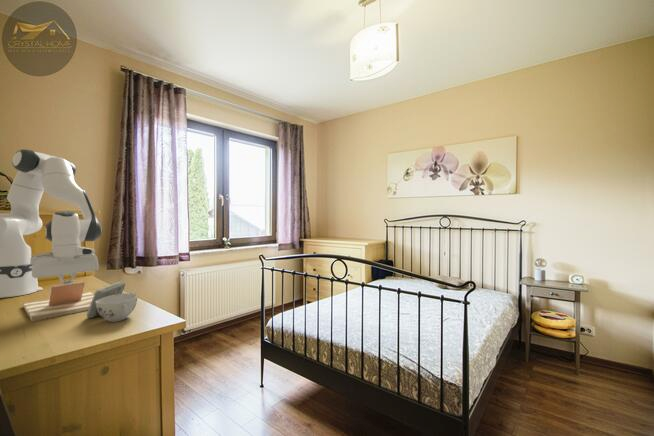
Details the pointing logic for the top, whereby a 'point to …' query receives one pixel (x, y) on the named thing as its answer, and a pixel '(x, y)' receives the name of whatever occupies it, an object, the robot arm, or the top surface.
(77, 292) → the tile
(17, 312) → the top surface
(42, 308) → the board
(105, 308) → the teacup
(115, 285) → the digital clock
